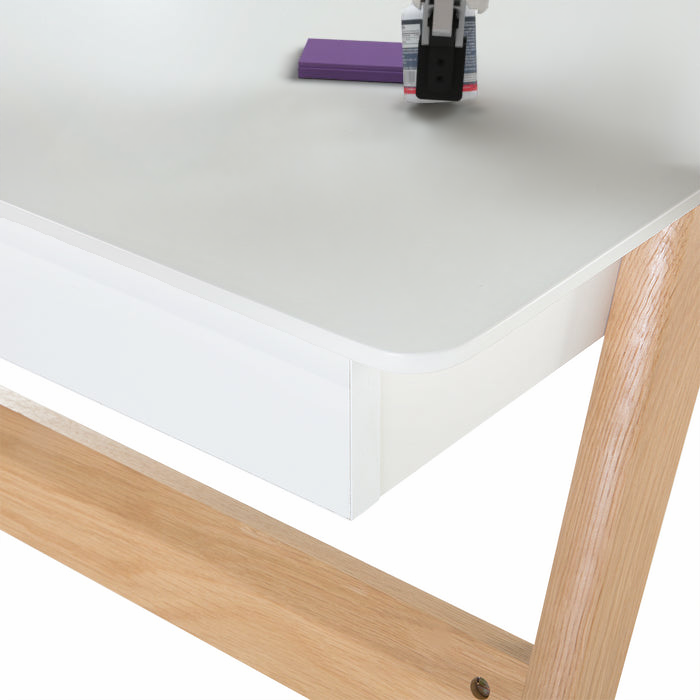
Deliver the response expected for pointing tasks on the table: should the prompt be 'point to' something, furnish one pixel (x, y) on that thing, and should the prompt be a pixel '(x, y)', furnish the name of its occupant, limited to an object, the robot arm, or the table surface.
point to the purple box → (352, 60)
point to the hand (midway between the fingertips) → (439, 95)
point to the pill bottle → (410, 39)
